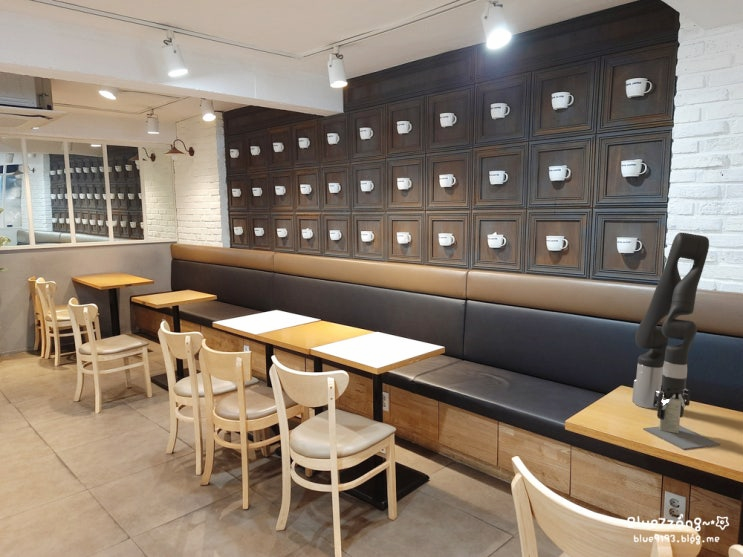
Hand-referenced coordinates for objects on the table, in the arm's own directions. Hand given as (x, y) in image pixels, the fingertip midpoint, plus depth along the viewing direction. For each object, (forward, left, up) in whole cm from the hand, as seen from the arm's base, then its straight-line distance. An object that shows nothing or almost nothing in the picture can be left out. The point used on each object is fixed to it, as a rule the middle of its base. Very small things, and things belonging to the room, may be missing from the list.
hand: (669, 417), depth 185 cm
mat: (+5, 0, -5) cm, 7 cm away
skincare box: (0, 0, -5) cm, 5 cm away
